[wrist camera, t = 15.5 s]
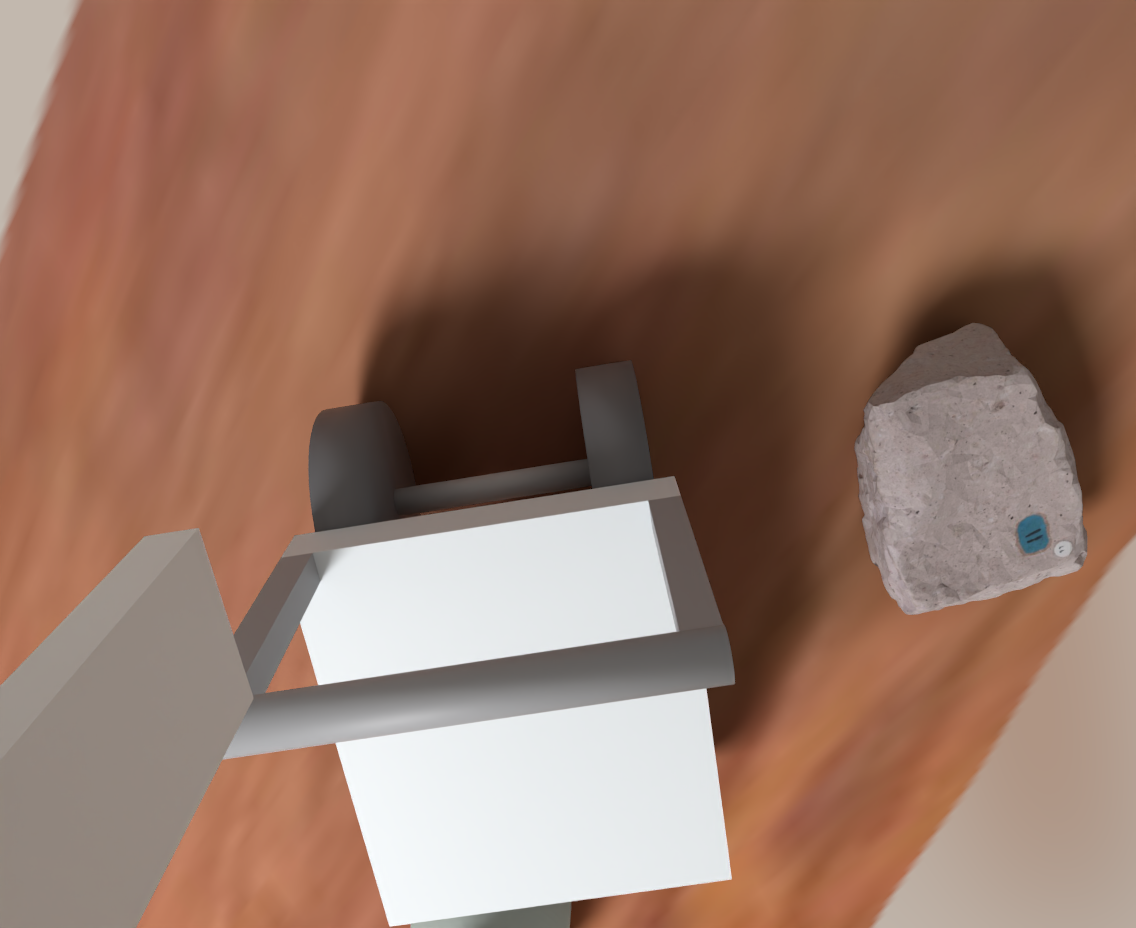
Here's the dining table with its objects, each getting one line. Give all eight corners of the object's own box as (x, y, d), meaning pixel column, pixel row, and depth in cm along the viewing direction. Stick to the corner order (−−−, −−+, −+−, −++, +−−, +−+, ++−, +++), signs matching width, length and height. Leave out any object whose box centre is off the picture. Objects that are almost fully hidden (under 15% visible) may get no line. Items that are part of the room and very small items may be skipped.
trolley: (642, 336, 44) (716, 529, 24) (703, 778, 53) (798, 1200, 32) (324, 388, 45) (132, 619, 25) (435, 817, 54) (361, 1254, 33)
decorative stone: (1064, 538, 48) (1130, 593, 43) (882, 602, 49) (922, 663, 44) (1004, 293, 44) (1068, 317, 39) (806, 368, 45) (840, 402, 40)
